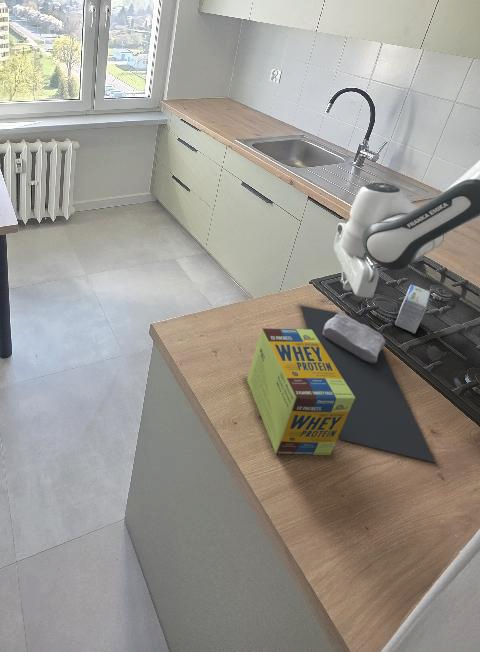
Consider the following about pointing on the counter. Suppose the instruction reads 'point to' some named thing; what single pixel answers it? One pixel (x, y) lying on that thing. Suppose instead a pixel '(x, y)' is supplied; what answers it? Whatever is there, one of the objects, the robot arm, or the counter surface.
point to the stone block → (354, 337)
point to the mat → (371, 397)
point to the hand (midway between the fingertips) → (345, 286)
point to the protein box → (298, 392)
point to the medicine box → (413, 308)
